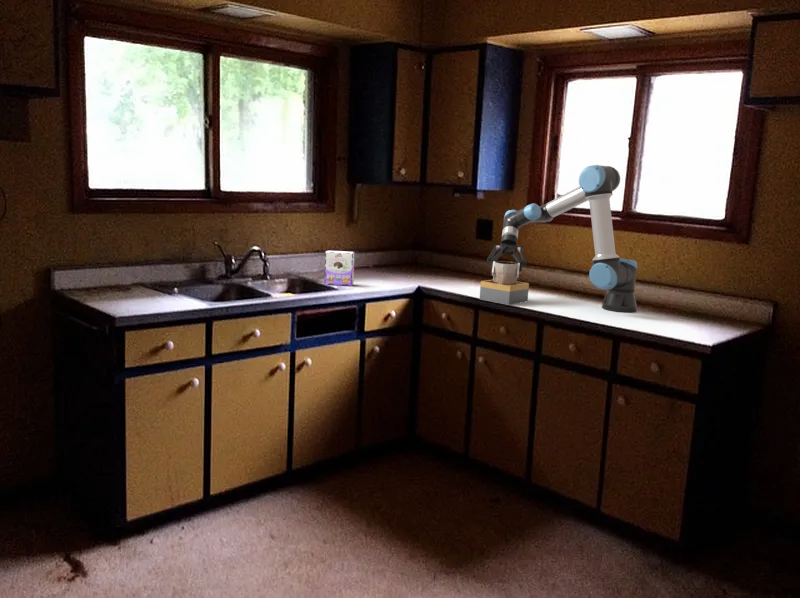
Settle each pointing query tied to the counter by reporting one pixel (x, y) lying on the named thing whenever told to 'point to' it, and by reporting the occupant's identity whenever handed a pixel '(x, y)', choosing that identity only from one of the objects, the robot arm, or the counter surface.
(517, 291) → the square cup holder
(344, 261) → the candy box
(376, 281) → the counter surface
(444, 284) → the counter surface
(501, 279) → the planter
